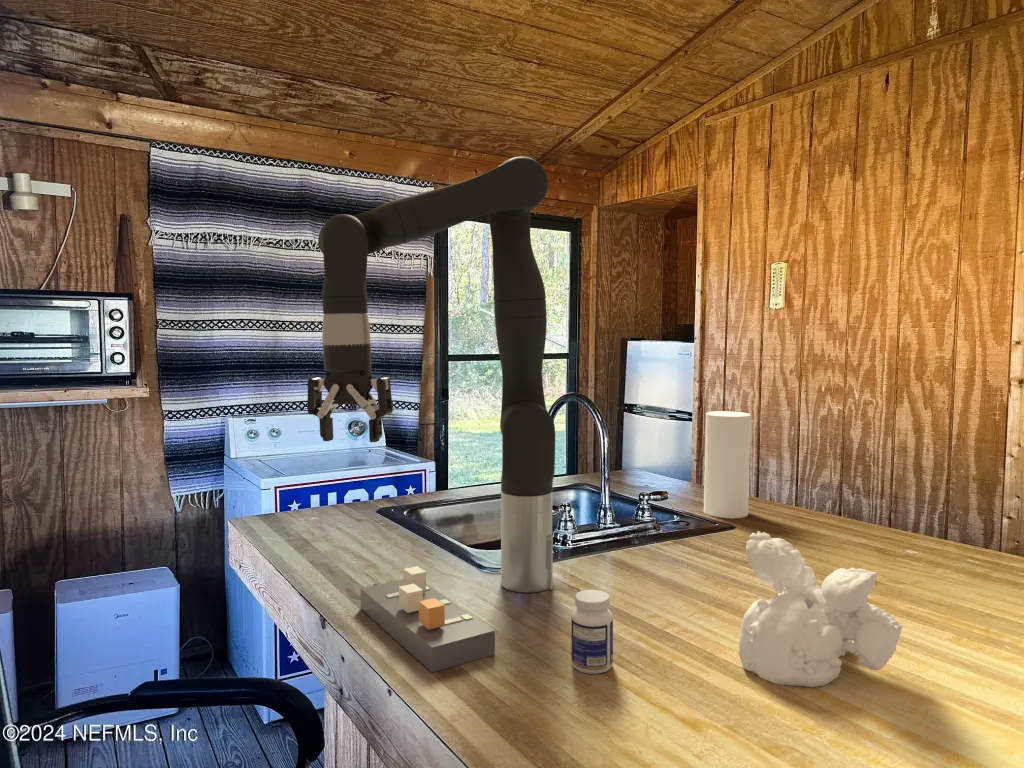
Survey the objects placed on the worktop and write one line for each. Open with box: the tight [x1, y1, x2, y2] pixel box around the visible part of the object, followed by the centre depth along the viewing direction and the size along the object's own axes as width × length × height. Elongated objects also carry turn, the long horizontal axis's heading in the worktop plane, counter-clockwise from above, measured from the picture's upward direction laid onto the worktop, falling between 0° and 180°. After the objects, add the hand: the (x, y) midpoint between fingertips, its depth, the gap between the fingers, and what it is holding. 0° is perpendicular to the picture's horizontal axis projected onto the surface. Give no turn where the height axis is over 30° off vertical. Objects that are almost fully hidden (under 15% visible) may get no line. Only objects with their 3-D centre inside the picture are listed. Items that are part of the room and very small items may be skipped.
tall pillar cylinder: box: [703, 410, 752, 519], centre depth 180 cm, size 11×11×25 cm
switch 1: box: [403, 565, 427, 590], centre depth 118 cm, size 2×3×3 cm
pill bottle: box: [570, 589, 614, 675], centre depth 100 cm, size 6×6×10 cm
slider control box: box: [359, 578, 496, 673], centre depth 114 cm, size 32×10×4 cm, turn 33°
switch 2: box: [399, 584, 423, 613], centre depth 110 cm, size 2×3×3 cm
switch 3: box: [419, 598, 445, 629], centre depth 104 cm, size 2×3×3 cm
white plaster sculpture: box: [738, 530, 903, 688], centre depth 100 cm, size 19×20×20 cm
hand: (351, 441), depth 118 cm, fingers open, 8 cm apart
